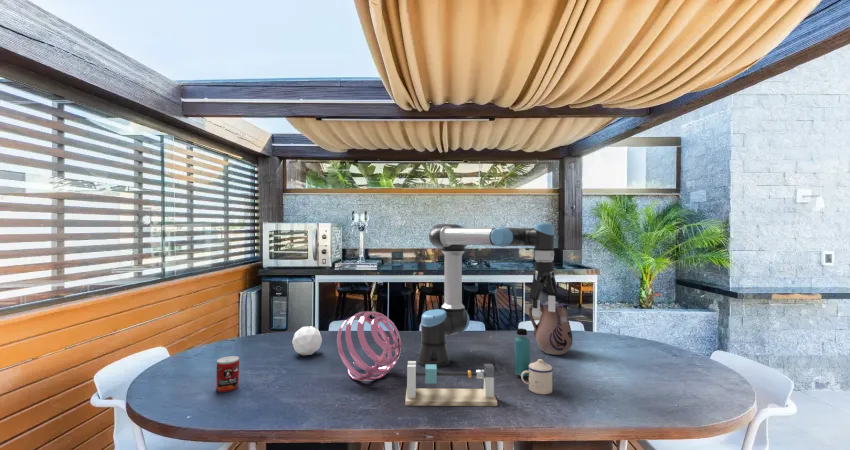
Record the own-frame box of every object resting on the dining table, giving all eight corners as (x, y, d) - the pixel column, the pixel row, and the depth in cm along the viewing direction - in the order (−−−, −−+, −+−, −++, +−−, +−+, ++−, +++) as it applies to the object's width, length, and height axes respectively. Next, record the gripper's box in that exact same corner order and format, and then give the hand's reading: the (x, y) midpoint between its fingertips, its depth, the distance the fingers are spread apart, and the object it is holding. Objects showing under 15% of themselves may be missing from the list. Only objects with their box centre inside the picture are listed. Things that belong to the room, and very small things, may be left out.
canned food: (215, 393, 140) (216, 363, 140) (216, 386, 147) (217, 357, 147) (238, 390, 143) (239, 360, 144) (238, 382, 151) (239, 354, 151)
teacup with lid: (548, 385, 150) (548, 355, 151) (556, 395, 141) (556, 363, 141) (518, 385, 150) (518, 355, 151) (524, 394, 141) (524, 363, 141)
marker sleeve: (425, 383, 135) (425, 369, 135) (425, 378, 140) (425, 364, 140) (436, 383, 135) (436, 369, 135) (436, 378, 140) (436, 364, 140)
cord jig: (405, 405, 131) (405, 369, 132) (406, 392, 142) (406, 358, 143) (497, 406, 132) (497, 369, 132) (491, 392, 143) (491, 359, 143)
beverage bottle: (530, 380, 155) (530, 331, 156) (514, 379, 157) (514, 330, 157) (529, 374, 162) (529, 327, 162) (513, 373, 163) (513, 326, 164)
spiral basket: (316, 326, 163) (355, 295, 151) (366, 330, 183) (404, 304, 171) (325, 393, 148) (369, 364, 136) (378, 390, 167) (421, 365, 155)
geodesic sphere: (315, 335, 200) (302, 316, 193) (334, 339, 192) (320, 320, 185) (296, 358, 190) (281, 339, 183) (314, 364, 182) (299, 344, 175)
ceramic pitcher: (578, 358, 184) (577, 306, 185) (534, 358, 184) (534, 306, 185) (565, 347, 201) (565, 300, 202) (525, 347, 202) (525, 300, 202)
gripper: (538, 263, 142) (537, 320, 141) (566, 260, 160) (566, 310, 159) (520, 262, 147) (519, 316, 146) (549, 259, 165) (549, 308, 164)
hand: (544, 313), depth 153 cm, fingers open, 13 cm apart
